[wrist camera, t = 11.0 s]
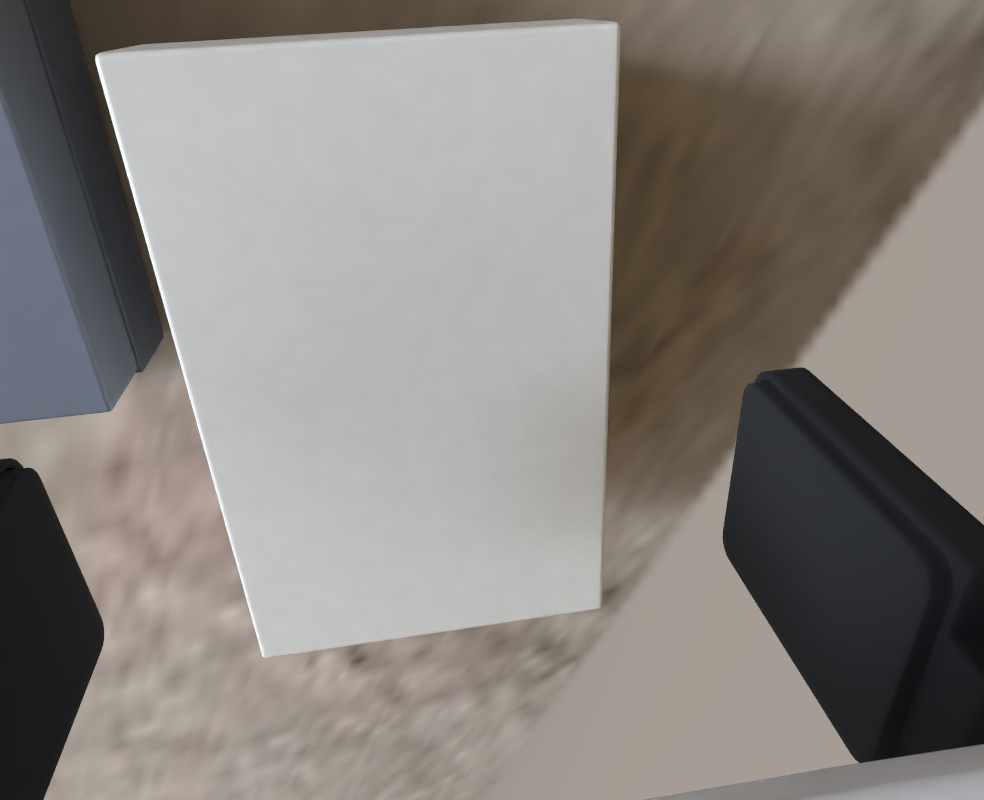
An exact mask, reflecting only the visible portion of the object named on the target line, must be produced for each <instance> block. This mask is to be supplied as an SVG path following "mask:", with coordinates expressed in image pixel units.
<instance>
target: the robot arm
mask: <svg viewBox="0 0 984 800" xmlns="http://www.w3.org/2000/svg"><path fill="white" fill-rule="evenodd" d="M723 544H724V548H725V551H726V554H727V557H728V558H729V560H730V562H731V563H732V565H733V567H734V568H735V570H736V571H737V573H738V575H739V576H740V578H741V579H742V581H743V583H744V584H745V586H746V587H747V589H748V591H749V592H750V594H751V595H752V597H753V599H754V600H755V602H756V603H757V605H758V607H759V608H760V609H761V611H762V613H763V615H764V616H765V618H766V619H767V621H768V623H769V624H770V626H771V627H772V629H773V630H774V632H775V634H776V635H777V637H778V638H779V640H780V642H781V643H782V645H783V646H784V648H785V650H786V651H787V653H788V654H789V656H790V658H791V659H792V661H793V662H794V664H795V666H796V667H797V669H798V670H799V672H800V673H801V675H802V677H803V678H804V680H805V681H806V683H807V685H808V686H809V688H810V689H811V691H812V693H813V694H814V696H815V697H816V699H817V701H818V702H819V704H820V705H821V707H822V709H823V710H824V711H825V713H826V715H827V716H828V718H829V720H830V721H831V723H832V724H833V726H834V728H835V729H836V731H837V732H838V734H839V736H840V737H841V739H842V740H843V742H844V744H845V745H846V747H847V748H848V750H849V752H850V753H851V754H852V756H853V757H854V758H855V759H856V760H857V761H858V762H859V764H851V765H845V766H838V767H832V768H827V769H820V770H815V771H809V772H803V773H797V774H791V775H786V776H780V777H774V778H768V779H762V780H757V781H752V782H746V783H739V784H734V785H728V786H722V787H716V788H711V789H705V790H699V791H693V792H688V793H681V794H676V795H670V796H664V797H659V798H653V799H647V800H984V525H983V524H982V523H981V522H980V521H978V520H977V519H976V518H975V517H974V516H973V515H972V514H970V513H969V512H968V511H967V510H966V509H965V508H964V507H962V506H961V505H960V504H959V503H958V502H957V501H956V500H955V499H953V498H952V497H951V496H950V495H949V494H948V493H947V492H945V491H944V490H943V489H942V488H941V487H940V486H939V485H938V484H937V483H935V482H934V481H933V480H932V479H931V478H930V477H929V476H927V475H926V474H925V473H924V472H923V471H922V470H921V469H920V468H918V467H917V466H916V465H915V464H914V463H913V462H912V461H911V460H909V459H908V458H907V457H906V456H905V455H904V454H903V453H901V452H900V451H899V450H898V449H897V448H896V447H895V446H893V445H892V444H891V443H890V442H889V441H888V440H887V439H886V438H884V437H883V436H882V435H881V434H880V433H879V432H878V431H877V430H875V429H874V428H873V427H872V426H871V425H870V424H869V423H867V422H866V421H865V420H864V419H863V418H862V417H861V416H860V415H858V414H857V413H856V412H855V411H854V410H853V409H851V407H849V406H848V405H847V404H846V403H845V402H844V401H843V400H842V399H840V398H839V397H838V396H837V395H836V394H834V393H833V392H832V391H831V390H830V389H829V388H828V387H827V386H826V385H824V384H823V383H822V382H821V381H820V380H819V379H818V378H817V377H815V376H814V375H813V374H812V373H811V372H810V371H809V370H807V369H805V368H791V369H783V370H774V371H765V372H762V373H760V374H759V375H758V376H757V378H756V380H755V383H751V384H749V385H747V386H746V388H745V390H744V394H743V401H742V407H741V414H740V421H739V428H738V434H737V441H736V448H735V455H734V461H733V468H732V475H731V481H730V488H729V495H728V502H727V508H726V515H725V522H724V529H723ZM103 641H104V626H103V621H102V618H101V616H100V614H99V611H98V609H97V607H96V604H95V602H94V600H93V598H92V595H91V593H90V591H89V588H88V586H87V584H86V582H85V579H84V577H83V575H82V572H81V570H80V568H79V565H78V563H77V561H76V559H75V556H74V554H73V552H72V549H71V547H70V545H69V543H68V540H67V538H66V536H65V533H64V531H63V529H62V527H61V524H60V522H59V520H58V517H57V515H56V513H55V511H54V508H53V506H52V504H51V501H50V499H49V497H48V495H47V492H46V490H45V488H44V485H43V483H42V481H41V479H40V477H39V475H38V473H37V472H36V471H35V470H34V469H32V468H23V466H22V465H21V464H20V463H19V462H18V461H17V460H14V459H11V458H9V459H0V800H43V799H44V797H45V794H46V791H47V789H48V786H49V784H50V781H51V779H52V776H53V773H54V771H55V768H56V766H57V763H58V761H59V758H60V755H61V753H62V750H63V748H64V745H65V743H66V740H67V737H68V735H69V732H70V730H71V727H72V725H73V722H74V719H75V717H76V714H77V712H78V709H79V707H80V704H81V701H82V699H83V696H84V694H85V691H86V689H87V686H88V683H89V681H90V678H91V676H92V673H93V670H94V668H95V665H96V663H97V660H98V658H99V655H100V652H101V650H102V646H103Z"/></svg>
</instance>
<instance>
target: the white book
mask: <svg viewBox="0 0 984 800" xmlns="http://www.w3.org/2000/svg"><path fill="white" fill-rule="evenodd" d="M620 37H621V28H620V25H619V23H616V22H612V21H600V20H589V19H563V20H546V21H529V22H512V23H495V24H478V25H461V26H444V27H427V28H411V29H394V30H377V31H360V32H343V33H326V34H309V35H292V36H275V37H258V38H241V39H224V40H208V41H191V42H174V43H157V44H141V45H136V46H131V47H126V48H121V49H116V50H111V51H106V52H101V53H99V54H97V55H96V58H95V62H96V66H97V69H98V73H99V76H100V80H101V83H102V87H103V91H104V94H105V98H106V101H107V105H108V108H109V112H110V115H111V119H112V123H113V126H114V130H115V133H116V137H117V140H118V144H119V147H120V151H121V155H122V158H123V162H124V165H125V169H126V172H127V176H128V179H129V183H130V187H131V190H132V194H133V197H134V201H135V204H136V208H137V211H138V215H139V219H140V222H141V226H142V229H143V233H144V236H145V240H146V243H147V247H148V251H149V254H150V258H151V261H152V265H153V268H154V272H155V275H156V279H157V283H158V286H159V290H160V293H161V297H162V300H163V304H164V307H165V311H166V315H167V318H168V322H169V325H170V329H171V332H172V336H173V339H174V343H175V347H176V350H177V354H178V357H179V361H180V364H181V368H182V371H183V375H184V379H185V382H186V386H187V389H188V393H189V396H190V400H191V403H192V407H193V411H194V414H195V418H196V421H197V425H198V428H199V432H200V435H201V439H202V443H203V446H204V450H205V453H206V457H207V460H208V464H209V467H210V471H211V475H212V478H213V482H214V485H215V489H216V492H217V496H218V499H219V503H220V507H221V510H222V514H223V517H224V521H225V524H226V528H227V531H228V535H229V539H230V542H231V546H232V549H233V553H234V556H235V560H236V563H237V567H238V571H239V574H240V578H241V581H242V585H243V588H244V592H245V595H246V599H247V603H248V606H249V610H250V613H251V617H252V620H253V624H254V628H255V631H256V635H257V638H258V642H259V645H260V649H261V652H262V655H263V657H264V658H271V657H277V656H284V655H291V654H298V653H304V652H311V651H318V650H325V649H331V648H338V647H345V646H351V645H358V644H365V643H372V642H378V641H385V640H392V639H399V638H405V637H412V636H419V635H425V634H432V633H439V632H446V631H452V630H459V629H466V628H473V627H479V626H486V625H493V624H499V623H506V622H513V621H520V620H526V619H533V618H540V617H547V616H553V615H560V614H567V613H574V612H580V611H587V610H594V609H599V608H601V606H602V583H603V553H604V523H605V492H606V462H607V432H608V401H609V371H610V341H611V310H612V280H613V250H614V219H615V189H616V158H617V128H618V98H619V67H620Z"/></svg>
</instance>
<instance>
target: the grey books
mask: <svg viewBox="0 0 984 800" xmlns="http://www.w3.org/2000/svg"><path fill="white" fill-rule="evenodd" d="M163 337H164V335H163V331H162V328H161V324H160V321H159V317H158V314H157V310H156V307H155V303H154V300H153V297H152V293H151V290H150V286H149V283H148V279H147V276H146V272H145V269H144V265H143V262H142V258H141V255H140V251H139V248H138V244H137V241H136V237H135V234H134V230H133V227H132V223H131V220H130V216H129V213H128V209H127V206H126V202H125V199H124V195H123V192H122V188H121V185H120V181H119V178H118V174H117V171H116V167H115V164H114V161H113V157H112V154H111V150H110V147H109V143H108V140H107V136H106V133H105V129H104V126H103V122H102V119H101V115H100V112H99V108H98V105H97V101H96V98H95V94H94V91H93V87H92V84H91V80H90V77H89V73H88V70H87V66H86V63H85V59H84V56H83V52H82V49H81V45H80V42H79V38H78V35H77V32H76V28H75V25H74V21H73V18H72V14H71V11H70V7H69V4H68V0H0V424H2V423H11V422H20V421H29V420H38V419H47V418H57V417H66V416H75V415H84V414H93V413H102V412H109V411H111V410H112V409H113V408H114V406H115V405H116V403H117V401H118V400H119V398H120V397H121V395H122V393H123V392H124V390H125V388H126V387H127V385H128V384H129V382H130V380H131V379H132V377H133V376H134V374H135V373H137V372H143V370H144V369H145V367H146V365H147V364H148V362H149V361H150V359H151V357H152V356H153V354H154V352H155V351H156V349H157V347H158V346H159V344H160V342H161V341H162V339H163Z"/></svg>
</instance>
